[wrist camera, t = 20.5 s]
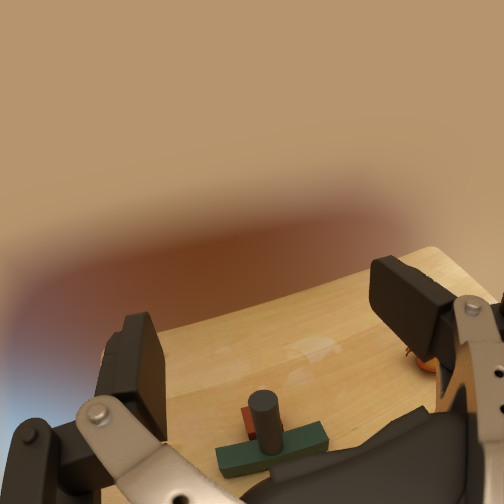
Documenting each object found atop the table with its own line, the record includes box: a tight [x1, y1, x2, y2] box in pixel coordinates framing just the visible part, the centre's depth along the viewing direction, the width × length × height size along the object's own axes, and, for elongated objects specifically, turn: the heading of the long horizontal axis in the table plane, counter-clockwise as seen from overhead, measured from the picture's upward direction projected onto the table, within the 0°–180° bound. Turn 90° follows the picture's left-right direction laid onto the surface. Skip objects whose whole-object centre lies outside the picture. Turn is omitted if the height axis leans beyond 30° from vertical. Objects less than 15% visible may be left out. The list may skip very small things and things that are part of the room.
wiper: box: [215, 390, 329, 478], centre depth 27 cm, size 12×3×12 cm, turn 103°
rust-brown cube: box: [241, 406, 284, 441], centre depth 32 cm, size 4×4×4 cm
